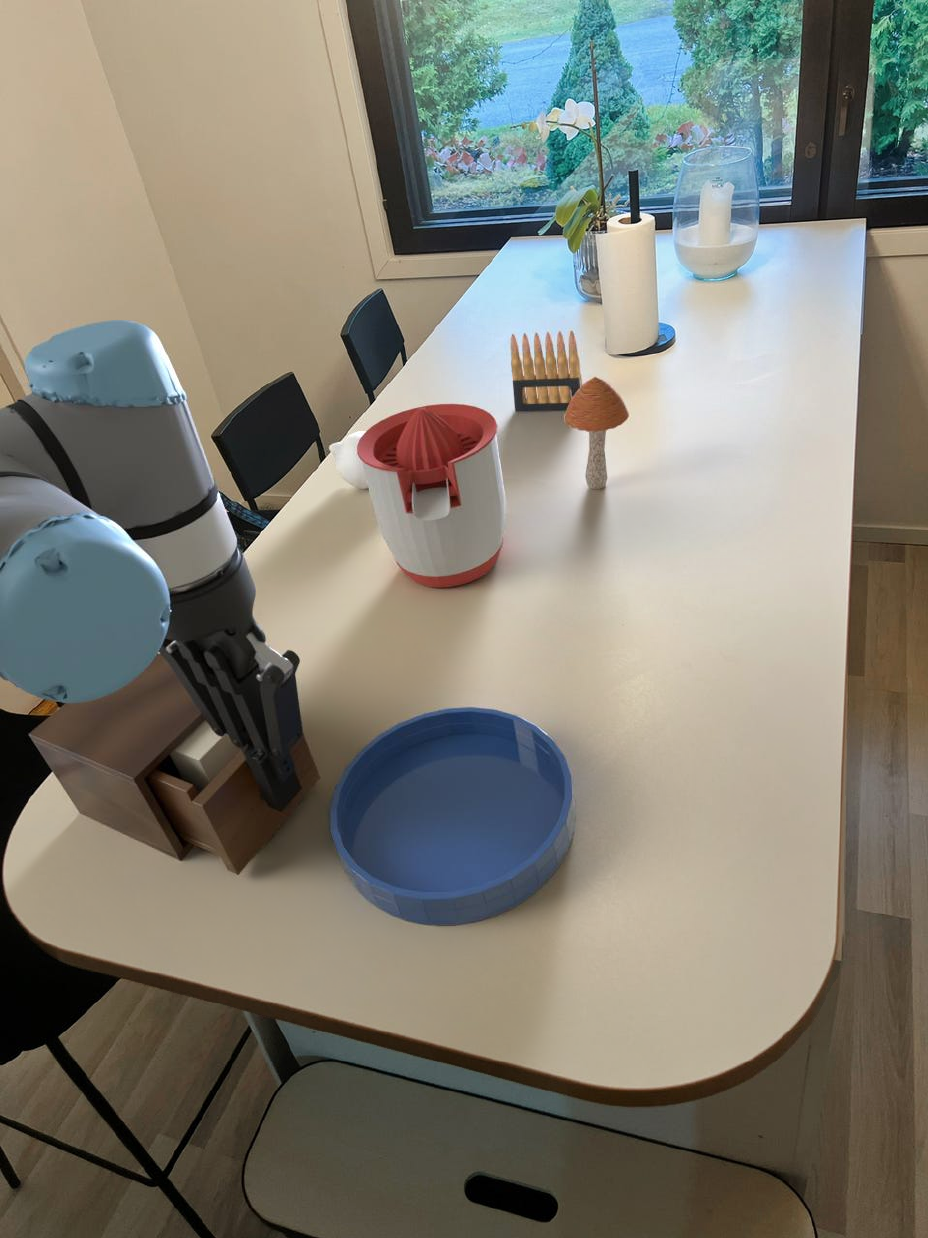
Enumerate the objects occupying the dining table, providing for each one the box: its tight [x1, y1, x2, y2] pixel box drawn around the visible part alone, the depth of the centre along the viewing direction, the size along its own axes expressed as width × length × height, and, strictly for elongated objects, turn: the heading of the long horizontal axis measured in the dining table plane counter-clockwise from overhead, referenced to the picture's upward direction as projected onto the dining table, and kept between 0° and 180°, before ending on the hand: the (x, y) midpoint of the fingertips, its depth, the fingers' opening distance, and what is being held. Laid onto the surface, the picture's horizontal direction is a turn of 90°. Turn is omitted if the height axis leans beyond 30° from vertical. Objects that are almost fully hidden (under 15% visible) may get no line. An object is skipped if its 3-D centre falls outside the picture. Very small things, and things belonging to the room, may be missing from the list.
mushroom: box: [563, 376, 630, 491], centre depth 110 cm, size 8×8×15 cm
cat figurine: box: [328, 430, 369, 490], centre depth 121 cm, size 9×11×12 cm
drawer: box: [144, 715, 321, 876], centre depth 76 cm, size 14×11×9 cm
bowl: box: [329, 706, 576, 927], centre depth 73 cm, size 20×20×4 cm
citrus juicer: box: [357, 403, 507, 588], centre depth 99 cm, size 16×17×20 cm
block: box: [170, 719, 241, 795], centre depth 76 cm, size 4×4×8 cm
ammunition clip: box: [510, 330, 583, 413], centre depth 131 cm, size 11×2×12 cm, turn 74°
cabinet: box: [28, 652, 205, 861], centre depth 79 cm, size 14×13×11 cm
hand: (285, 797), depth 72 cm, fingers closed
